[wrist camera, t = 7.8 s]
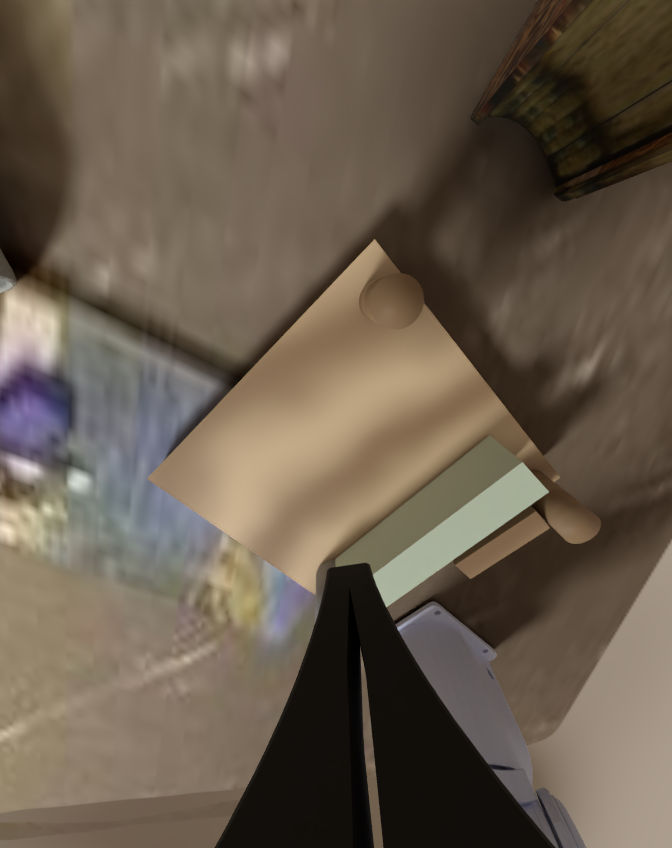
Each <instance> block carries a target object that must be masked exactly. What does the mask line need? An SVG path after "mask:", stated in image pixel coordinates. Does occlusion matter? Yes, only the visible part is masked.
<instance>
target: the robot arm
mask: <svg viewBox="0 0 672 848" xmlns="http://www.w3.org/2000/svg"><path fill="white" fill-rule="evenodd" d="M360 647H361V652H362V657H363V662H364V667H365V672H366V680H367V689H368V698H369V708H370V717H371V727H372V737H373V747H374V756H375V766H376V776H377V786H378V796H379V806H380V816H381V826H382V836H383V847H384V848H586V846H585V844H584V842H583V840H582V838H581V837H580V834H579V833H578V830H577V829H576V827H575V825H574V823H573V821H572V819H571V817H570V815H569V814H568V812H567V810H566V808H565V807H564V805H563V804H562V803H561V802H560V801H559V800H558V799H557V798H555V797H554V796H553V795H551V794H550V793H549V791H548V790H547V789H546V788H540V789H538V790H536V793H537V796H538V799H539V802H540V804H541V806H540V804H539V802H538V799H537V797H536V795H535V792H534V790H533V788H532V781H533V780H532V764H531V759H530V755H529V751H528V748H527V745H526V742H525V740H524V738H523V736H522V734H521V731H520V729H519V727H518V725H517V723H516V720H515V718H514V716H513V714H512V712H511V709H510V707H509V705H508V703H507V701H506V698H505V696H504V694H503V692H502V690H501V688H500V685H499V683H498V681H497V679H496V677H495V674H494V672H493V670H492V668H491V666H490V663H489V661H491V660H493V659H494V658H496V656H497V653H496V651H495V650H494V649H493V648H492V647H491V646H489V645H488V644H487V643H486V642H485V641H483V640H482V639H481V638H480V637H478V636H477V635H476V634H475V633H474V632H472V631H471V630H470V629H469V628H467V627H466V626H465V625H464V624H463V623H461V622H460V621H459V620H458V619H456V618H455V617H454V616H453V615H452V614H450V613H449V612H448V611H447V610H445V609H444V608H443V607H442V606H441V605H439V604H438V603H437V602H429V603H428V604H426V605H425V606H423V607H421V608H420V609H418V610H417V611H415V612H414V613H412V614H411V615H409V616H408V617H406V618H404V619H403V620H401V621H400V622H398V623H397V624H395V623H394V621H393V619H392V617H391V615H390V613H389V612H388V610H387V608H386V605H385V603H384V601H383V599H382V597H381V594H380V592H379V590H378V588H377V585H376V582H375V580H374V577H373V574H372V571H371V567H370V564H368V563H360V564H353V565H346V566H339V567H332V568H329V569H328V570H327V574H326V581H325V587H324V591H323V596H322V600H321V604H320V608H319V612H318V615H317V619H316V622H315V625H314V629H313V632H312V636H311V639H310V642H309V645H308V648H307V650H306V653H305V656H304V659H303V662H302V665H301V668H300V670H299V673H298V676H297V678H296V681H295V683H294V686H293V689H292V691H291V693H290V696H289V698H288V701H287V703H286V705H285V708H284V710H283V713H282V715H281V717H280V719H279V722H278V724H277V726H276V728H275V730H274V733H273V735H272V737H271V739H270V741H269V744H268V746H267V748H266V750H265V752H264V754H263V756H262V758H261V760H260V762H259V765H258V767H257V769H256V771H255V773H254V775H253V776H252V778H251V780H250V782H249V784H248V786H247V788H246V790H245V792H244V794H243V796H242V798H241V800H240V801H239V803H238V805H237V807H236V809H235V811H234V813H233V815H232V817H231V819H230V821H229V823H228V825H227V826H226V828H225V830H224V832H223V834H222V836H221V837H220V839H219V841H218V843H217V845H216V846H215V848H374V844H373V843H374V842H373V833H372V824H371V814H370V805H369V794H368V784H367V774H366V764H365V754H364V739H363V715H362V687H361V659H360ZM541 807H542V808H541ZM542 810H543V811H542ZM543 812H544V813H543Z"/></svg>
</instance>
